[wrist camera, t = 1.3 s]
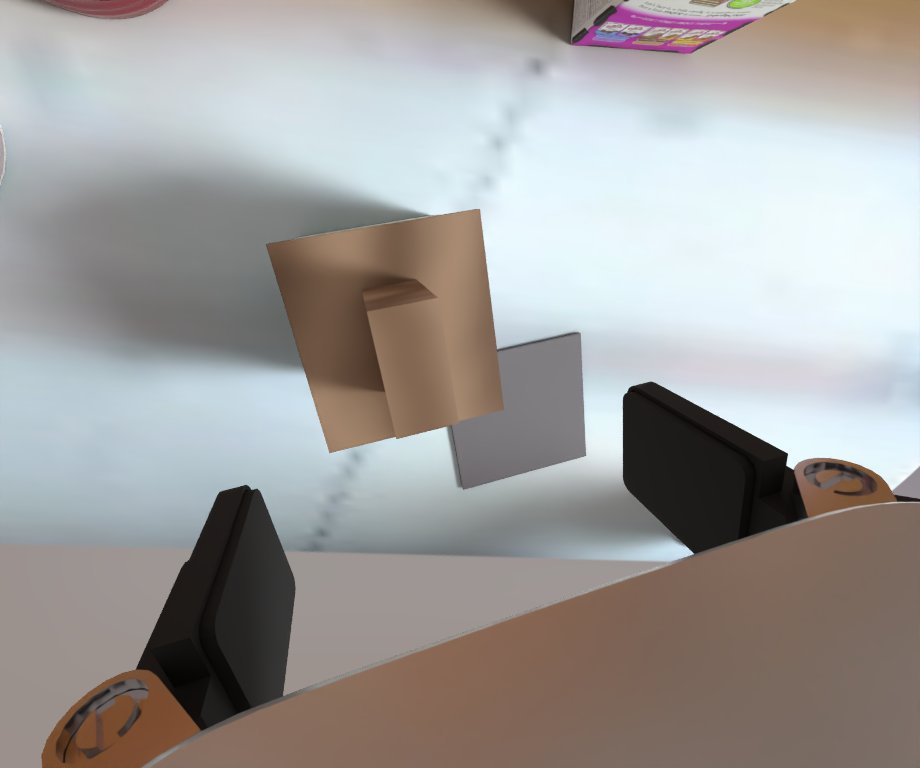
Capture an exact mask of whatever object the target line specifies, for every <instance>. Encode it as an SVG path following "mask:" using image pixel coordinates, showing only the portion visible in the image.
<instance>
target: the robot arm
mask: <svg viewBox="0 0 920 768" xmlns="http://www.w3.org/2000/svg"><path fill="white" fill-rule="evenodd" d="M787 457H788V454H787V453H786V452H784V451H782V450H780V449H778V448H776V447H774V446H772V445H771V444H769V443H767V442H765V441H763V440H761V439H759V438H757V437H756V436H754V435H752V434H750V433H748V432H746V431H744V430H742V429H741V428H739V427H737V426H735V425H733V424H731V423H729V422H727V421H726V420H724V419H722V418H720V417H718V416H716V415H714V414H712V413H711V412H709V411H707V410H705V409H703V408H701V407H699V406H697V405H696V404H694V403H692V402H690V401H688V400H686V399H684V398H682V397H681V396H679V395H677V394H675V393H673V392H671V391H669V390H667V389H666V388H664V387H662V386H660V385H658V384H656V383H654V382H647V383H643V384H639V385H635V386H632V387H630V388H629V389H628V392H627V393H626V394H625V395H624V397H623V480H624V484H625V486H626V488H627V489H628V491H629V492H630V493H631V494H632V495H633V496H635V497H636V498H637V499H638V500H639V501H640V502H641V503H642V504H643V505H644V506H645V507H646V508H647V509H648V510H649V511H650V512H651V513H652V514H653V515H654V516H655V517H656V518H658V519H659V520H660V521H661V522H662V523H663V524H664V525H665V526H666V527H667V528H668V529H669V530H670V531H671V532H672V533H673V534H674V535H675V536H676V537H677V538H678V539H679V540H681V541H682V542H683V543H684V544H685V545H686V546H687V547H688V548H689V549H690V550H691V551H692V552H693V553H694V554H693V555H690V556H687V557H684V558H681V559H678V560H675V561H672V562H669V563H666V564H663V565H660V566H658V567H655V568H651V569H648V570H645V571H643V572H639V573H636V574H633V575H630V576H627V577H624V578H621V579H618V580H616V581H613V582H610V583H607V584H604V585H601V586H598V587H595V588H592V589H589V590H586V591H583V592H580V593H577V594H574V595H571V596H568V597H565V598H563V599H560V600H557V601H554V602H551V603H548V604H545V605H542V606H539V607H536V608H533V609H530V610H527V611H524V612H521V613H518V614H515V615H512V616H509V617H506V618H504V619H501V620H498V621H495V622H492V623H489V624H486V625H483V626H480V627H478V628H475V629H472V630H469V631H466V632H463V633H460V634H457V635H454V636H451V637H448V638H446V639H443V640H440V641H437V642H434V643H431V644H428V645H426V646H422V647H420V648H417V649H414V650H411V651H408V652H405V653H402V654H399V655H396V656H394V657H391V658H388V659H385V660H382V661H379V662H376V663H374V664H371V665H368V666H365V667H362V668H359V669H357V670H354V671H351V672H348V673H345V674H342V675H339V676H336V677H334V678H331V679H328V680H325V681H322V682H319V683H316V684H314V685H311V686H309V687H306V688H303V689H301V690H298V691H295V692H293V693H290V694H288V695H286V696H283V691H284V682H285V674H286V665H287V657H288V648H289V640H290V632H291V624H292V623H291V622H292V614H293V606H294V598H295V581H294V576H293V573H292V571H291V568H290V566H289V563H288V561H287V558H286V556H285V553H284V550H283V548H282V545H281V543H280V540H279V538H278V535H277V533H276V530H275V528H274V525H273V523H272V520H271V518H270V515H269V512H268V510H267V507H266V505H265V502H264V500H263V497H262V495H261V493H260V491H259V490H258V489H254V490H251V489H250V487H249V486H247V485H244V486H241V487H237V488H233V489H229V490H225V491H221V492H219V494H218V495H217V498H216V500H215V502H214V505H213V507H212V509H211V511H210V514H209V516H208V518H207V521H206V523H205V525H204V527H203V530H202V532H201V534H200V537H199V539H198V541H197V543H196V546H195V548H194V550H193V553H192V555H191V557H190V559H189V560H188V561H187V562H185V564H184V565H183V566H182V568H181V570H180V572H179V575H178V577H177V579H176V581H175V584H174V586H173V588H172V590H171V592H170V594H169V597H168V599H167V601H166V603H165V606H164V608H163V610H162V613H161V614H160V617H159V619H158V621H157V624H156V626H155V628H154V630H153V632H152V635H151V637H150V639H149V641H148V643H147V646H146V648H145V650H144V652H143V654H142V657H141V659H140V661H139V664H138V666H137V668H136V670H133V671H129V672H125V673H122V674H119V675H117V676H115V677H113V678H111V679H109V680H106V681H105V682H103V683H102V684H100V685H99V686H97V687H96V688H94V689H93V690H91V691H90V692H88V693H87V694H86V695H85V696H84V697H82V699H80V700H79V701H78V702H77V703H76V704H75V705H73V706H72V707H71V708H70V709H69V711H68V712H67V713H66V714H65V715H64V716H63V717H62V719H61V720H60V721H59V722H58V723H57V725H56V727H55V728H54V730H53V731H52V733H51V734H50V736H49V738H48V739H47V741H46V744H45V747H44V750H43V753H42V768H920V499H917V498H910V497H904V496H898V495H894V494H893V493H892V491H891V489H890V488H889V486H888V484H887V483H886V482H885V481H884V480H883V479H882V477H881V476H879V475H877V474H876V473H874V472H873V471H871V470H869V469H867V468H865V467H862V466H860V465H857V464H854V463H851V462H847V461H843V460H837V459H831V458H813V459H806V460H804V461H801V462H799V463H798V464H797V465H796V466H795V468H794V470H793V469H791V468H789V467H788V466H786V462H787Z"/></svg>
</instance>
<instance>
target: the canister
mask: <svg viewBox="0 0 920 768" xmlns="http://www.w3.org/2000/svg"><path fill="white" fill-rule="evenodd" d="M44 1H47V2H49V3H51V4H53V5H56V6H58V7H61V8H64V9H67V10H70V11H73V12H76V13H79V14H83V15H86V16H91V17H96V18H103V19H126V18H133V17H137V16H141V15H144V14H146V13H149V12H151V11H153V10H155V9H157V8H158V7H160V6H161V5H163V4H164V3H166V2H167V1H168V0H44Z"/></svg>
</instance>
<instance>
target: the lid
mask: <svg viewBox="0 0 920 768" xmlns="http://www.w3.org/2000/svg"><path fill="white" fill-rule="evenodd" d="M266 246H267V249H268V252H269V256H270V259H271V262H272V266H273V269H274V272H275V275H276V279H277V282H278V285H279V289H280V292H281V295H282V298H283V302H284V305H285V308H286V311H287V315H288V318H289V321H290V325H291V328H292V331H293V334H294V338H295V341H296V344H297V348H298V351H299V354H300V357H301V361H302V364H303V367H304V371H305V374H306V377H307V380H308V384H309V387H310V390H311V394H312V397H313V400H314V403H315V407H316V410H317V413H318V416H319V420H320V423H321V426H322V430H323V433H324V436H325V439H326V443H327V446H328V449H329V453H332V452H336V451H340V450H344V449H348V448H352V447H356V446H360V445H364V444H368V443H372V442H376V441H380V440H384V439H388V438H393V437H396V439H399V438H403V437H407V436H411V435H415V434H419V433H423V432H427V431H431V430H435V429H439V428H443V427H447V426H451V425H455V424H459V421H461V420H465V419H469V418H473V417H477V416H481V415H485V414H489V413H493V412H497V411H501V410H504V404H503V396H502V388H501V379H500V371H499V363H498V355H497V346H496V338H495V330H494V322H493V314H492V305H491V297H490V289H489V281H488V272H487V264H486V256H485V248H484V240H483V231H482V223H481V215H480V209H474V210H468V211H462V212H456V213H450V214H444V215H438V216H432V217H426V218H420V219H414V220H408V221H402V222H396V223H390V224H384V225H378V226H372V227H366V228H360V229H353V230H347V231H341V232H335V233H329V234H323V235H317V236H311V237H305V238H299V239H293V240H287V241H281V242H275V243H269V244H266Z"/></svg>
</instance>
